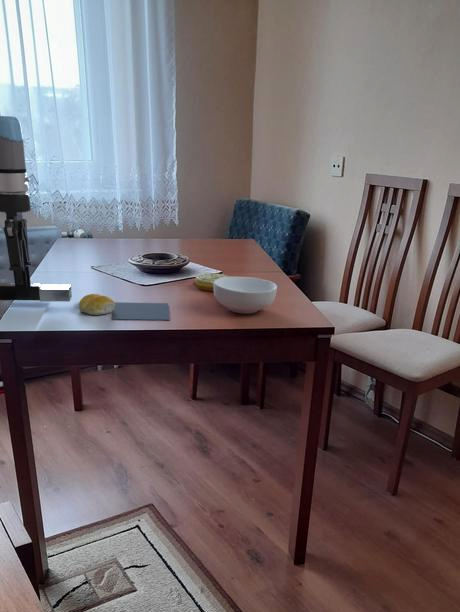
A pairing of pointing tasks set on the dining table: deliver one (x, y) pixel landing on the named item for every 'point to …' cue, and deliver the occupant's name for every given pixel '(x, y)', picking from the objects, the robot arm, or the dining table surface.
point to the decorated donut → (207, 280)
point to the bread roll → (96, 304)
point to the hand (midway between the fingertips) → (24, 294)
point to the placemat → (141, 311)
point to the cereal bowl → (244, 293)
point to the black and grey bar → (37, 292)
